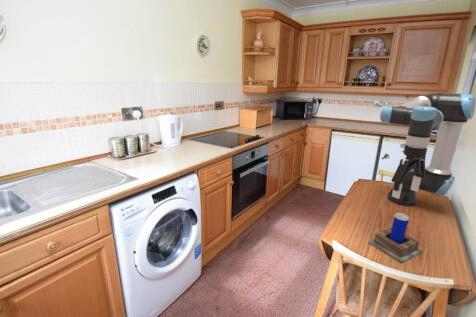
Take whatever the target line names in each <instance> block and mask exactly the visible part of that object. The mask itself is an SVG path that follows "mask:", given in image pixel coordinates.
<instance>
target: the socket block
mask: <svg viewBox="0 0 476 317" xmlns="http://www.w3.org/2000/svg"><path fill="white" fill-rule="evenodd" d="M391 229H392V227H390V228H387V229H385V230H382V231H379V232H378V233H375V235H374V238H372V239H370V240H368V244H370V245H371V246H372V247H374V248H375V249H378V250H379V251H381V252H382V253H384V254H386V255H387V256H389V257H390V258H392V259H394V260H395V261H397V262H398V263H400V264H404V263H405V262H407V261H409V260H411V259H413V258H415V257H417V256H419V255H420V254H422V253H423V252H424V251H423V250H422V249H421V248H419V244H420V241H419V240H418V239H415V238H413V237H411V236H409V235H407V234H405V237H404V241H403V244H398V243H396V242H394V241H393V240H391V239H389V238H390V234H391Z"/></svg>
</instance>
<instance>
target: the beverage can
mask: <svg viewBox="0 0 476 317" xmlns="http://www.w3.org/2000/svg"><path fill="white" fill-rule="evenodd" d="M409 220H410V218H409V216H408V215H407V214H406V213H402V212H396V213H395V214H394V216H393V220H392V226H391V228H392V229H391V234H390V238H389V239H391V240H393V241H394V242H396V243H398V244H403V241H404V237H405V235H406V232H407V228H408V224H409Z"/></svg>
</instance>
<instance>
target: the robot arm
mask: <svg viewBox="0 0 476 317" xmlns="http://www.w3.org/2000/svg"><path fill="white" fill-rule="evenodd" d="M475 109H476V98H475V96H474V95H473V94H468V93H467V94H466V93H446V92H445V93H443V92H434V93H433V92H432V93H428V94H423V95H419V96H416V97H414V98H412V100H410V101H408V102H405V103H402V104H400V105H397V106H384V107H383V108H382V109H381V111H380V114H379V115H380V116H379V117H380V118H379V119H380V122H381V123H385V124H388V125H389V124H391V125H398V126H399V125H400V126H407V127H408V130H407V135H406V136H405V138H406V140H405V145H404V148H403V155H405V156H406V157H405V159H404V158H400V160H399V164H398V166H397V168H396V170H395V172H394V175H393V176H392V178H391V182H392V183H393V184H392V187H391V189H390V190H389V192H388V194H387V199H388V200H389V201H390V202H392V203H394V204H396V205H400V206H405V207H407V206H408V207H414V206H416V205H417V202H418V198H417V193H418V192H419V190H421V191H425V192H428V193H431V194H434V195H439V196H445V195H447V194H448V192H449V191H450V189H451V187H452V185H454V181H455V178H456V177H455V176H454V175H453V172H452V170H451V169H450V168H451V165H452V162H453V157H454V155H455V152H456V148H457V144H458V142H459V141H458V140H459V136H460V133H461V129H462V126H463V125H465V124H467V123H468V120H472V118H474V113H475ZM438 126H439V127H438ZM436 127H438V128H439V129H438V131H437V136H436V141H435V144H434V148H433V152H432V156H431V159H430V164H429V165H428V166H426V157H427V152H428V147H429V146H430V140H431V136H432V132H433V129H434V128H436Z"/></svg>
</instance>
